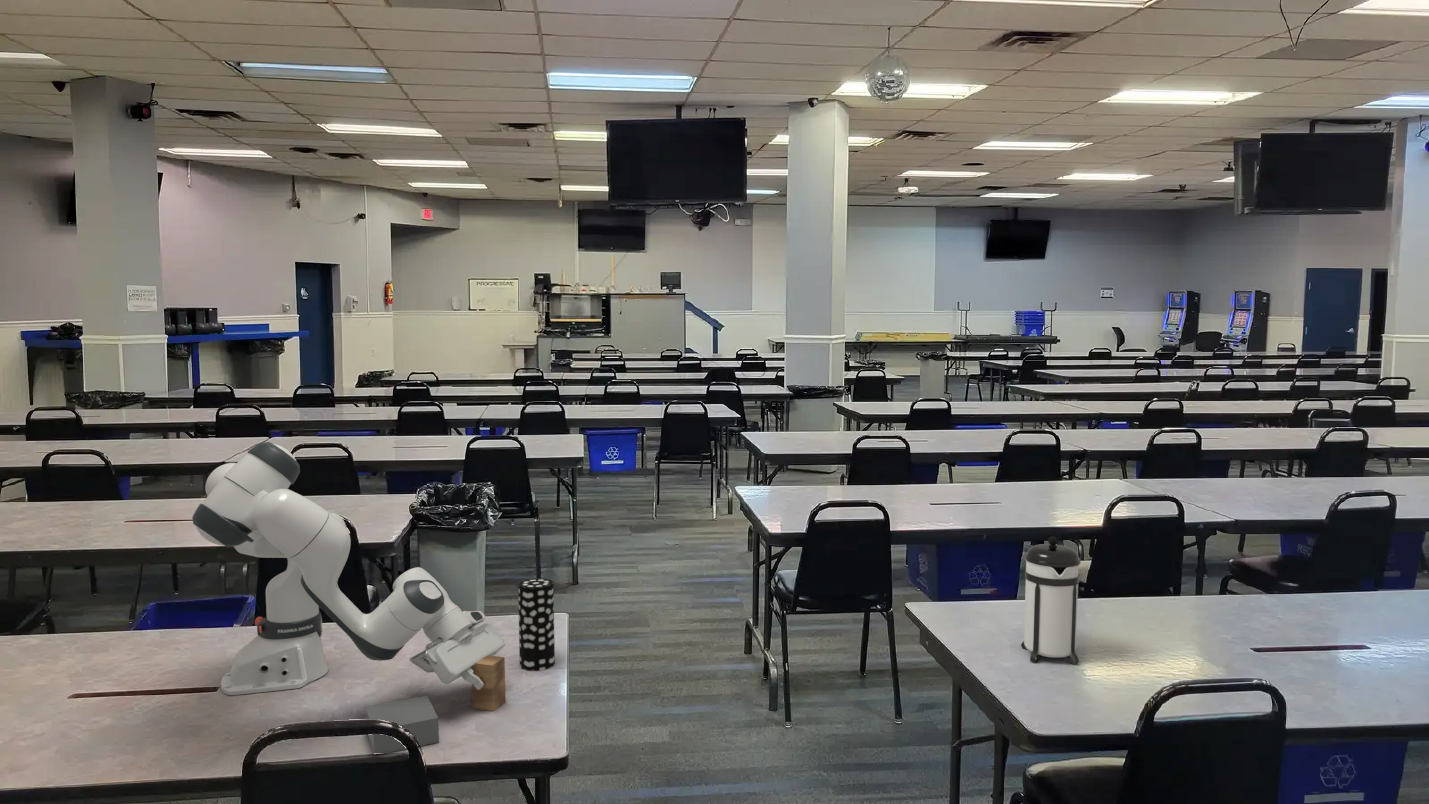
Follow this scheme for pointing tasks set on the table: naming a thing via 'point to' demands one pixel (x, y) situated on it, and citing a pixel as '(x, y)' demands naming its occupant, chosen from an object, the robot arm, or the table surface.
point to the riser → (405, 722)
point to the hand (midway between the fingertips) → (491, 681)
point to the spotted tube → (536, 624)
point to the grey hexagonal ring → (422, 661)
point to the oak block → (489, 683)
